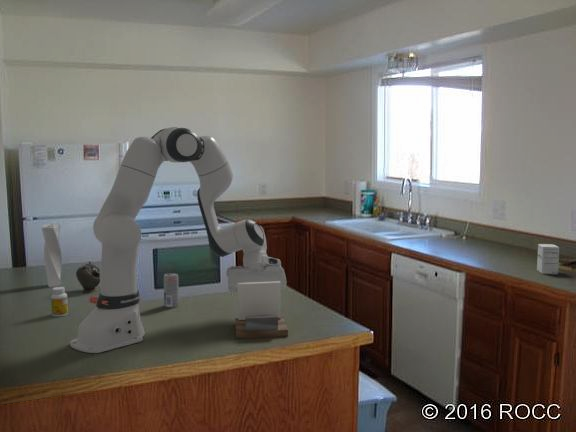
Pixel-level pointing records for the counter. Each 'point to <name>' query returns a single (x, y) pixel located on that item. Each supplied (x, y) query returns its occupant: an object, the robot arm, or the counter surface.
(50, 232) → the skyscraper
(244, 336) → the bar
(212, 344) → the counter surface
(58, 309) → the supplement bottle
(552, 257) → the supplement box
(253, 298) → the white flat panel
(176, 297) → the energy drink
